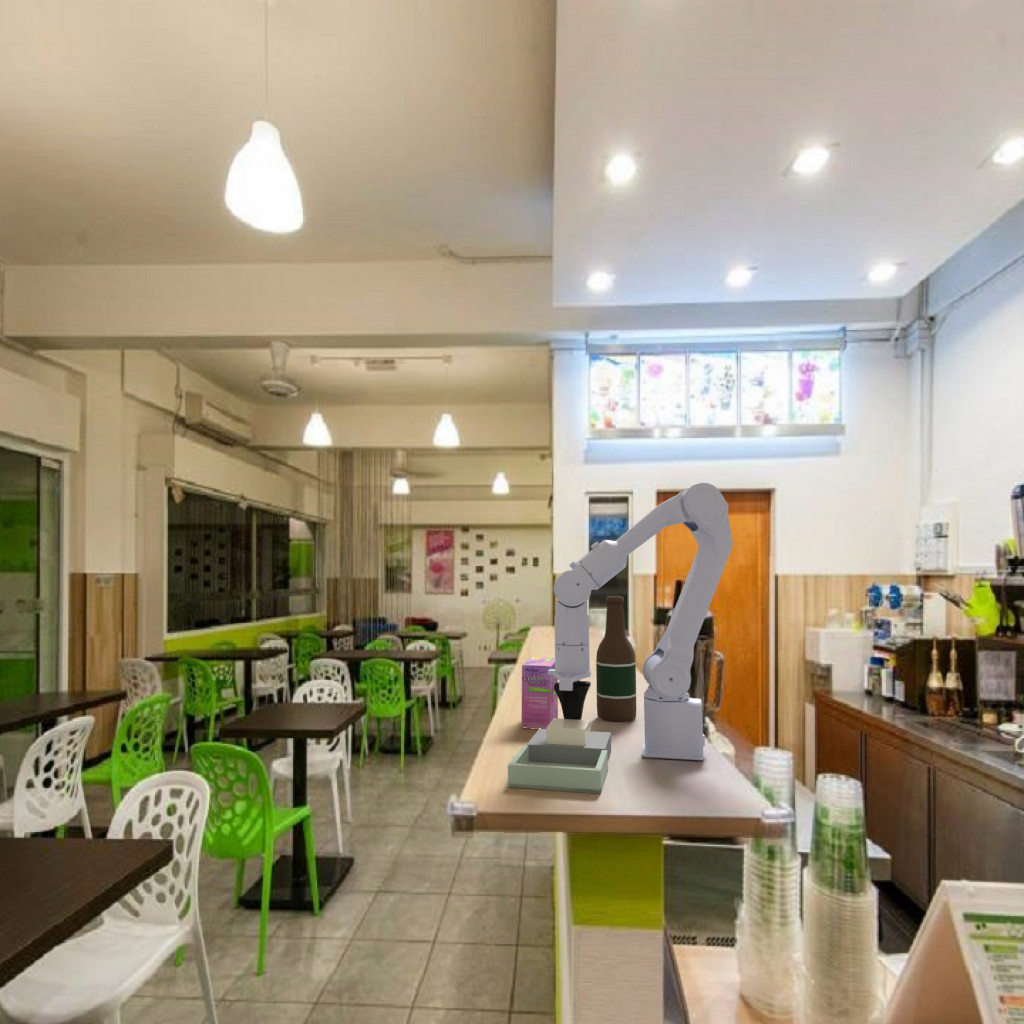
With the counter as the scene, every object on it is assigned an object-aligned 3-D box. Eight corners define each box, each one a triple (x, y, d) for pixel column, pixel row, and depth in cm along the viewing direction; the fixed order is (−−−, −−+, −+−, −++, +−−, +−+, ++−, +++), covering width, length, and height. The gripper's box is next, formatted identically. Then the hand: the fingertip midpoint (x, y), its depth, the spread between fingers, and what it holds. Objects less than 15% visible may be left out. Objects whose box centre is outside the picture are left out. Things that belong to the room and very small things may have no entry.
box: (551, 730, 126) (550, 665, 127) (521, 728, 127) (520, 664, 128) (559, 717, 136) (558, 657, 137) (530, 716, 138) (530, 656, 138)
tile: (590, 736, 110) (590, 720, 110) (585, 746, 104) (585, 729, 104) (553, 733, 111) (553, 718, 112) (546, 743, 106) (546, 727, 106)
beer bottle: (636, 714, 139) (634, 595, 140) (636, 723, 131) (634, 597, 133) (597, 712, 140) (596, 595, 142) (595, 721, 132) (594, 597, 134)
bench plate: (611, 751, 112) (610, 732, 112) (605, 769, 102) (605, 748, 102) (539, 746, 115) (539, 728, 115) (527, 764, 105) (526, 744, 105)
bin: (608, 769, 102) (607, 749, 102) (600, 793, 92) (600, 770, 92) (524, 764, 105) (524, 744, 105) (508, 786, 95) (508, 764, 95)
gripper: (555, 638, 121) (556, 716, 120) (539, 648, 107) (540, 737, 106) (595, 639, 119) (596, 718, 118) (584, 649, 105) (585, 739, 104)
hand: (572, 727), depth 112 cm, fingers closed
